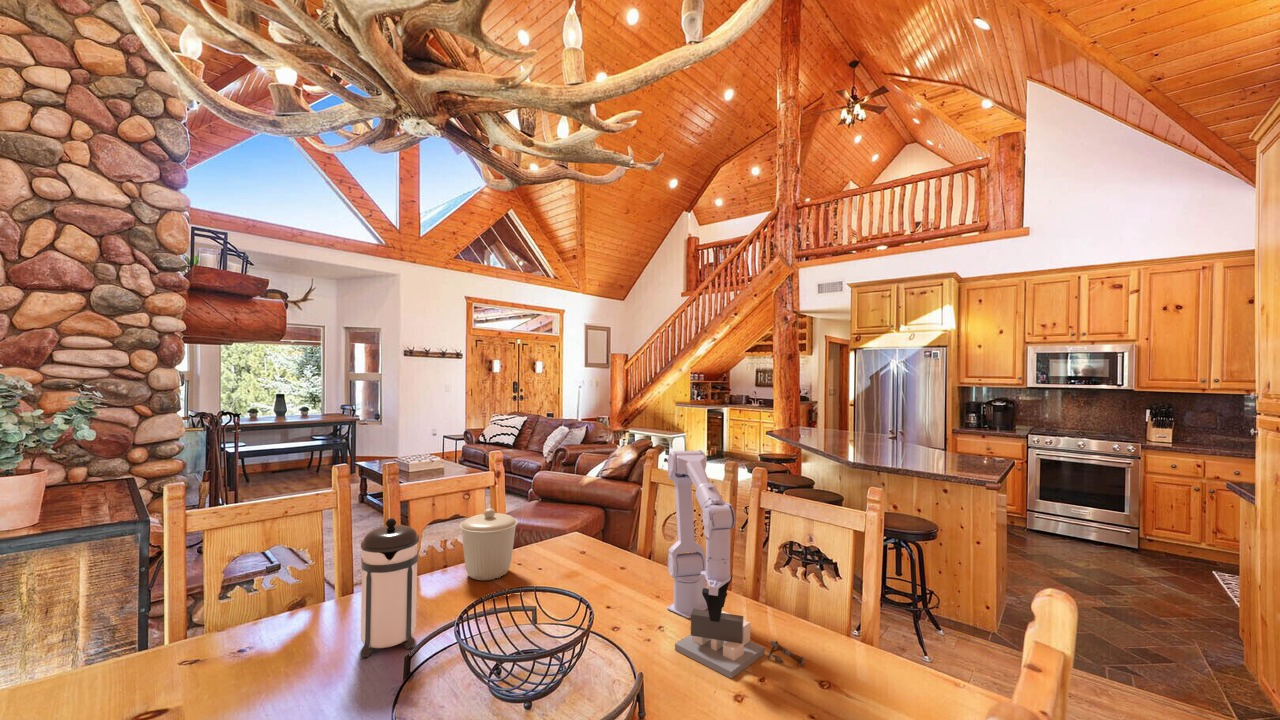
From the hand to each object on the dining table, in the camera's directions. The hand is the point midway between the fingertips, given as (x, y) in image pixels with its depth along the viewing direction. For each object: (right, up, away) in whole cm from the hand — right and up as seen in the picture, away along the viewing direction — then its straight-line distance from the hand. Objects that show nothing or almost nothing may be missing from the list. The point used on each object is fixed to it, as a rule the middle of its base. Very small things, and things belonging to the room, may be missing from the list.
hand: (717, 613), depth 122 cm
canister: (-67, -9, +44) cm, 81 cm away
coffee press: (-80, -9, +3) cm, 81 cm away
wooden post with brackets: (+15, -10, -4) cm, 19 cm away
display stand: (+1, -9, 0) cm, 9 cm away
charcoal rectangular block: (0, -5, 0) cm, 5 cm away
